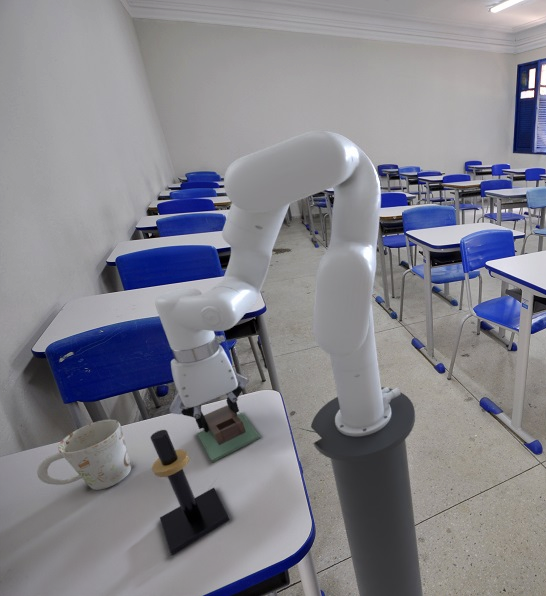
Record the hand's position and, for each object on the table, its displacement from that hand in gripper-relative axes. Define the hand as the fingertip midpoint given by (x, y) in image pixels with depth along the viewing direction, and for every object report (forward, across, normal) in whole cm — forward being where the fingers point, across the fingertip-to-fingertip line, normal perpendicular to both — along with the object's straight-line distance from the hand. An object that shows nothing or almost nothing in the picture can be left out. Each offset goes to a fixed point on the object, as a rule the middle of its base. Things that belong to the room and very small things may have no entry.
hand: (220, 421), depth 81 cm
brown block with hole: (0, 0, +4) cm, 4 cm away
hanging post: (+2, +10, +22) cm, 24 cm away
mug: (+2, +21, -1) cm, 21 cm away
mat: (+2, 0, +4) cm, 4 cm away
